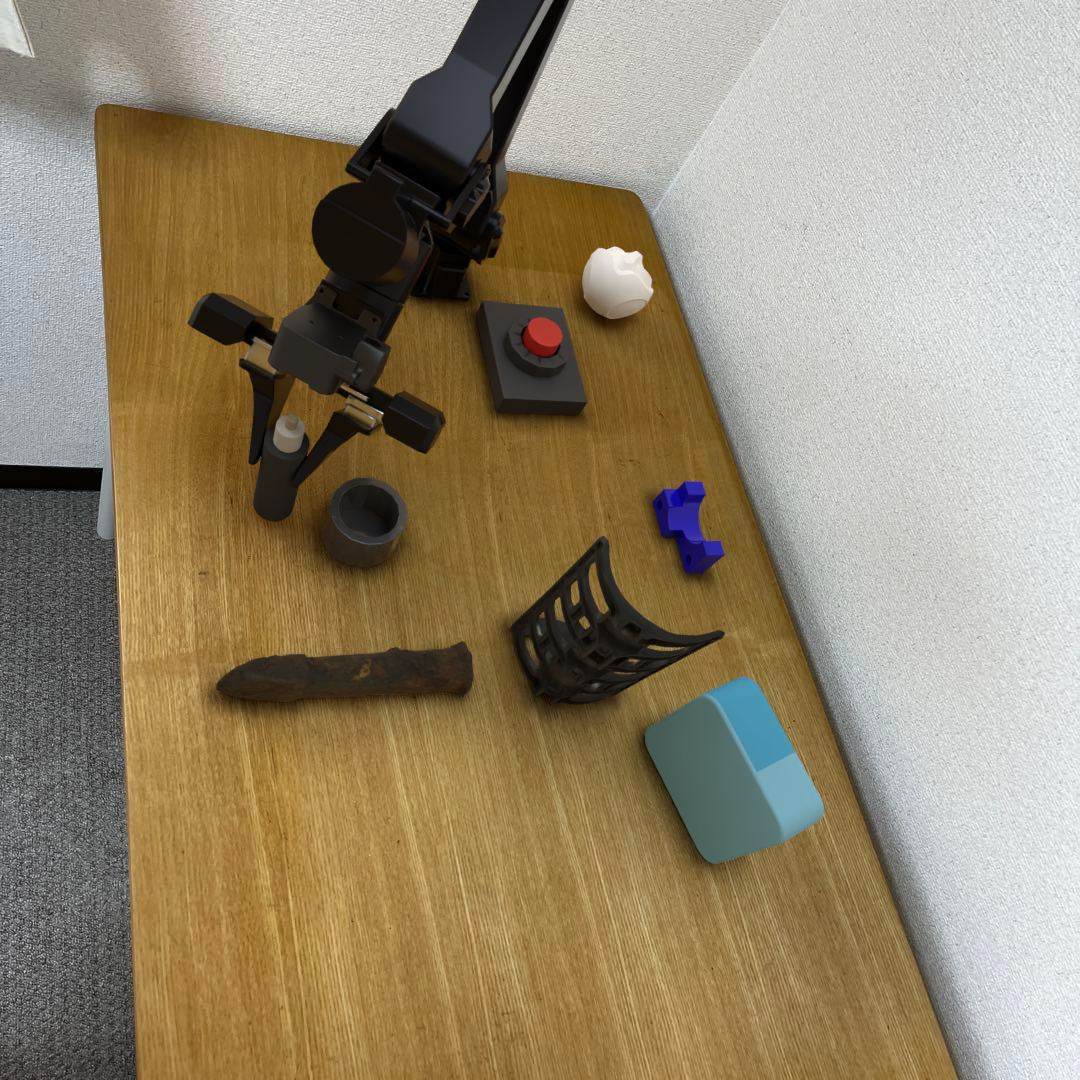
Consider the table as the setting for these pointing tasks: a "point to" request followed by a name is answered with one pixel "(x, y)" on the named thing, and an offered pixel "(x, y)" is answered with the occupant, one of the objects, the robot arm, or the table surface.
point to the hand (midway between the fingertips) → (273, 475)
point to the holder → (594, 638)
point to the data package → (733, 772)
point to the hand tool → (351, 674)
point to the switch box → (528, 362)
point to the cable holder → (687, 526)
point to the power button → (542, 337)
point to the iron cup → (363, 522)
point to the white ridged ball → (616, 283)
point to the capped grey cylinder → (280, 468)
